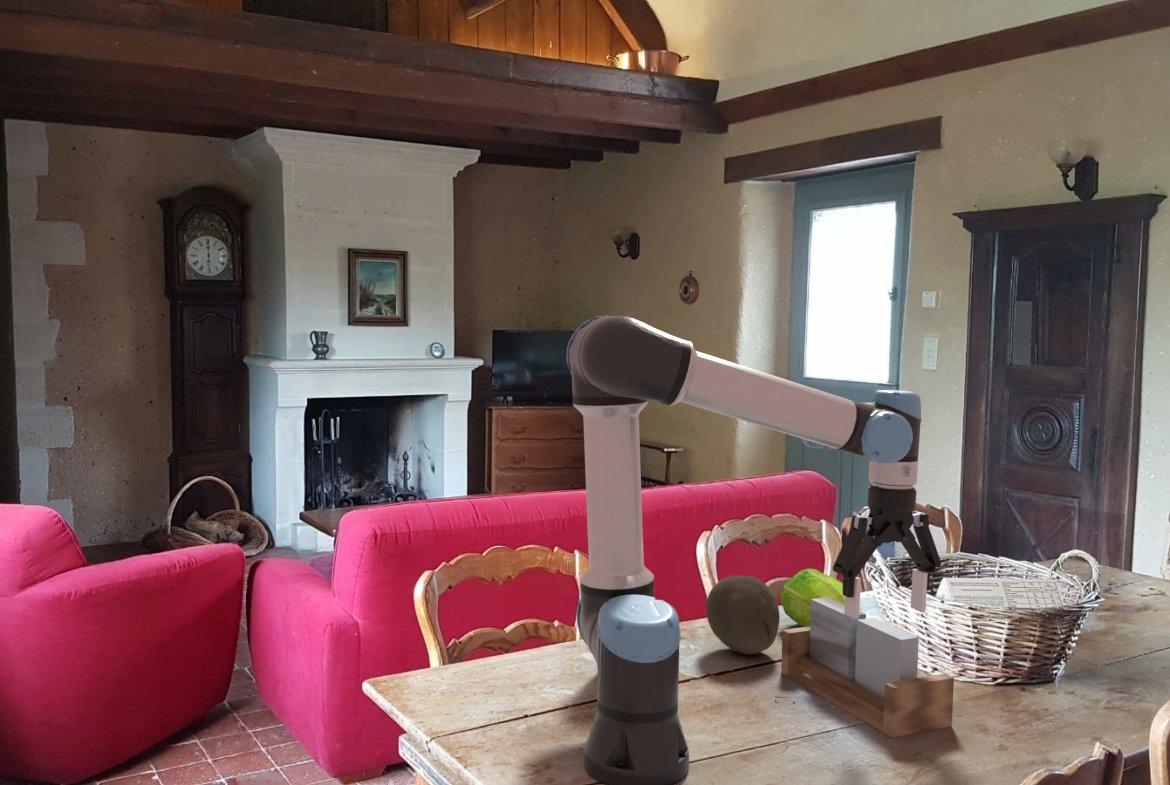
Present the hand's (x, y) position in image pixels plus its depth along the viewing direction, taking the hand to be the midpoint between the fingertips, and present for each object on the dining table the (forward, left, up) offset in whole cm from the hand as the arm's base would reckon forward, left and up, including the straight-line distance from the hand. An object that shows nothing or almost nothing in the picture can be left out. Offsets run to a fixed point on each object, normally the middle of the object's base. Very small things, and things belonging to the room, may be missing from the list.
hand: (885, 613), depth 160 cm
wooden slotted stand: (0, +6, -17) cm, 18 cm away
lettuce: (+15, +37, -17) cm, 43 cm away
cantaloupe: (-7, +33, -17) cm, 38 cm away
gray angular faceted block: (0, 0, -15) cm, 15 cm away
